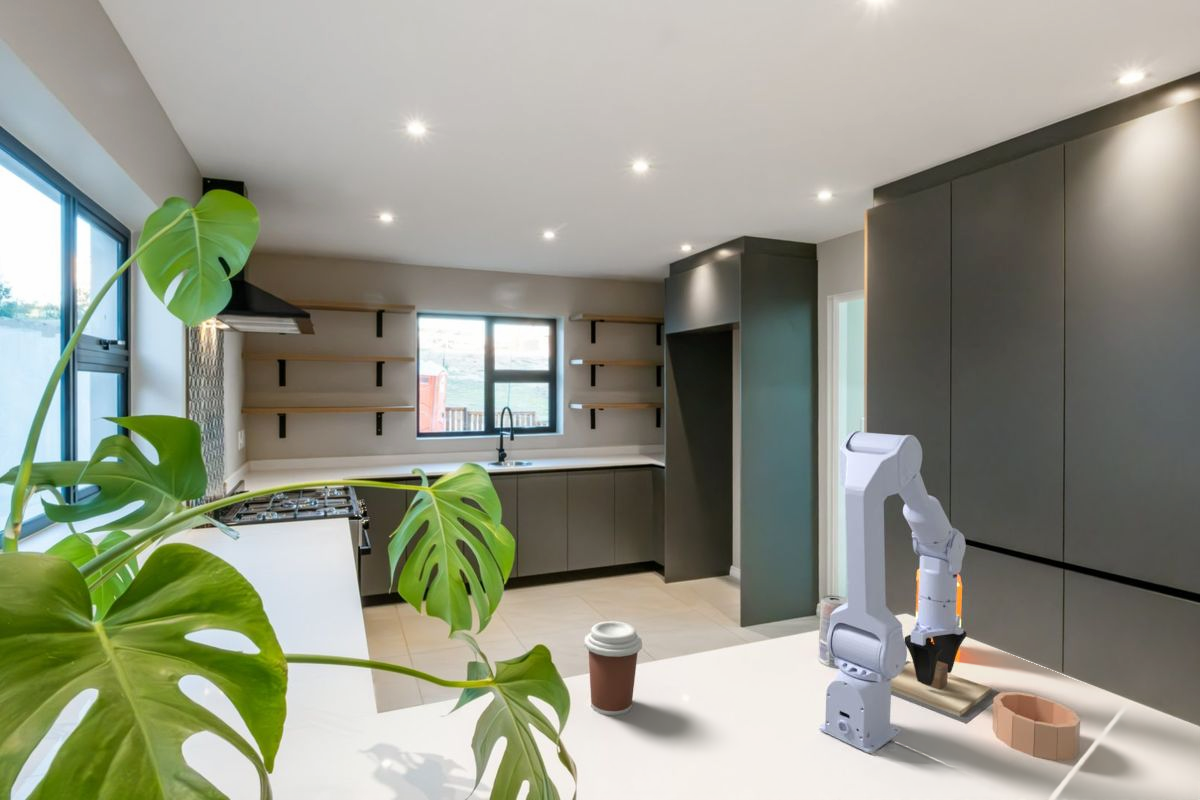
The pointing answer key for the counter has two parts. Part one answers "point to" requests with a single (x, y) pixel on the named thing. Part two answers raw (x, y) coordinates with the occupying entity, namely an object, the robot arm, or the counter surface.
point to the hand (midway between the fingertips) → (934, 676)
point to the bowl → (1036, 726)
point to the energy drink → (827, 627)
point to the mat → (963, 718)
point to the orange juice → (958, 607)
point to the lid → (940, 689)
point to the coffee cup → (612, 666)
